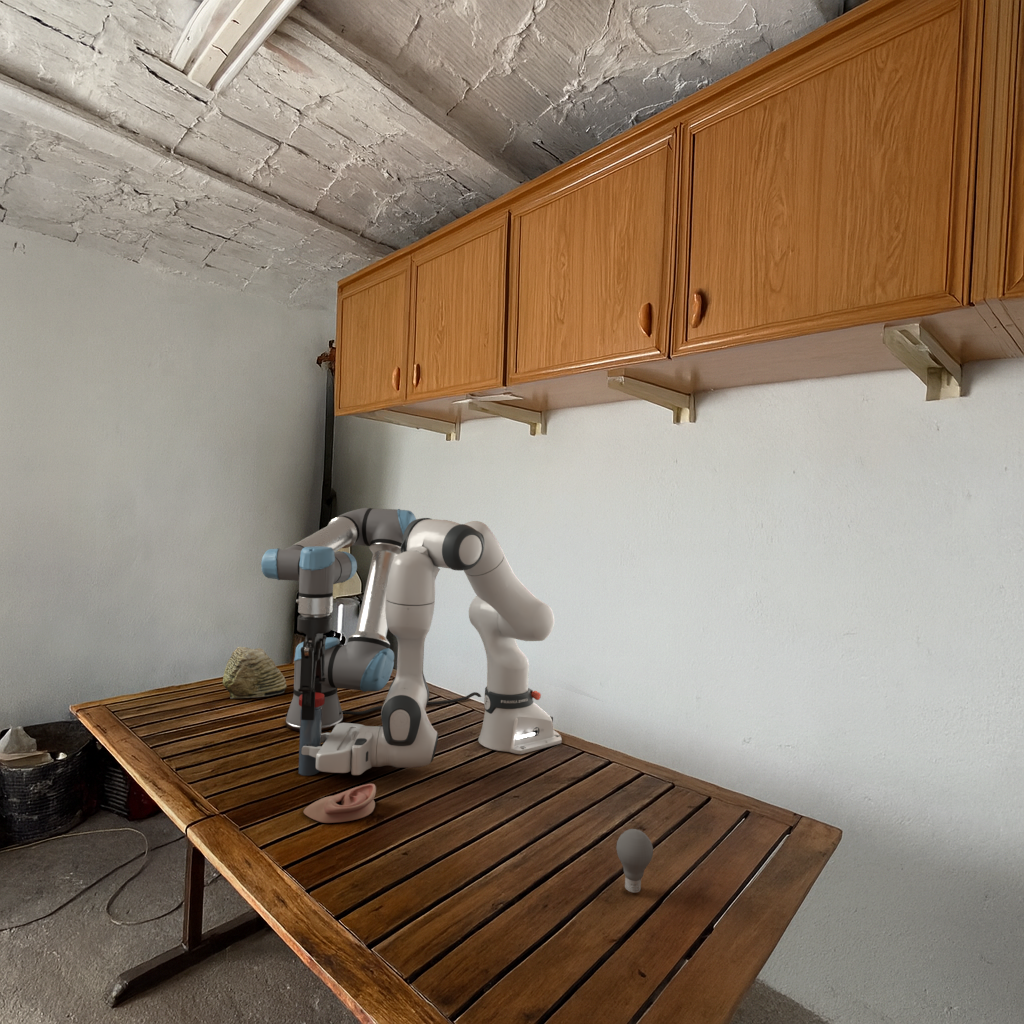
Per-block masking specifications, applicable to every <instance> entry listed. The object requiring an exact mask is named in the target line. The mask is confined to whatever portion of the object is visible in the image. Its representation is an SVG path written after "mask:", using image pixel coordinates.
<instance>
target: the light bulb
mask: <svg viewBox="0 0 1024 1024" xmlns="http://www.w3.org/2000/svg"><path fill="white" fill-rule="evenodd" d="M615 849H616V854H617V857H618V859H619V861H620V863H621V865H622V867H623V873H624V874H623V875H624V876H625V878H624V888H625V890H627V891H628V892H630V893H634V894H635V893H639V892H640V891H641V889H642V887H641V886H642V879H643V877H644V875H645V871H646V868H647V867H648V866H649V864H650V863H651V861H652V859H653V855H654V847H653V843H652V841H651V838H649V836H648V835H647V834H646V833H645V832H643V831H642V830H641V829H636V828H629V829H627V830H625V831H623V832H622V833H621V834H620V835H619V837H618V839H617V841H616V847H615Z"/></svg>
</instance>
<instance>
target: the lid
mask: <svg viewBox="0 0 1024 1024" xmlns="http://www.w3.org/2000/svg"><path fill="white" fill-rule="evenodd" d="M324 703H325V697H324V694H322V693H318V692H315V707H319V706H322V705H323V704H324ZM299 705H300V706H301V707H302V695H300V697H299Z"/></svg>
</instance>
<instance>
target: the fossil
mask: <svg viewBox="0 0 1024 1024" xmlns="http://www.w3.org/2000/svg"><path fill="white" fill-rule="evenodd" d="M222 676H223V677H222V685H223V687H224V688H225V690H226V691H228V693H229V698H230V699H250V698H264V697H271V696H275V695H281V694H284V693H285V691H286V689H287V687H288V686H287V680H286V678H285V676H284V674H283V673H282V672H281V669H279V668H278V667H277V665H276V663H275V662H274V660H273V659H272V658H271V657H270V656H269V655H268V654H267V653H266V652H265V650H264V649H263V648H260V647H258V648H251V647H247V646H246V647H245V646H238V647H237V648H236V649H235V650H233V651H232V653H231V656H230V657H229V659H228V660H227V663H226V666H225V668H224V671H223V675H222Z"/></svg>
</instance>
